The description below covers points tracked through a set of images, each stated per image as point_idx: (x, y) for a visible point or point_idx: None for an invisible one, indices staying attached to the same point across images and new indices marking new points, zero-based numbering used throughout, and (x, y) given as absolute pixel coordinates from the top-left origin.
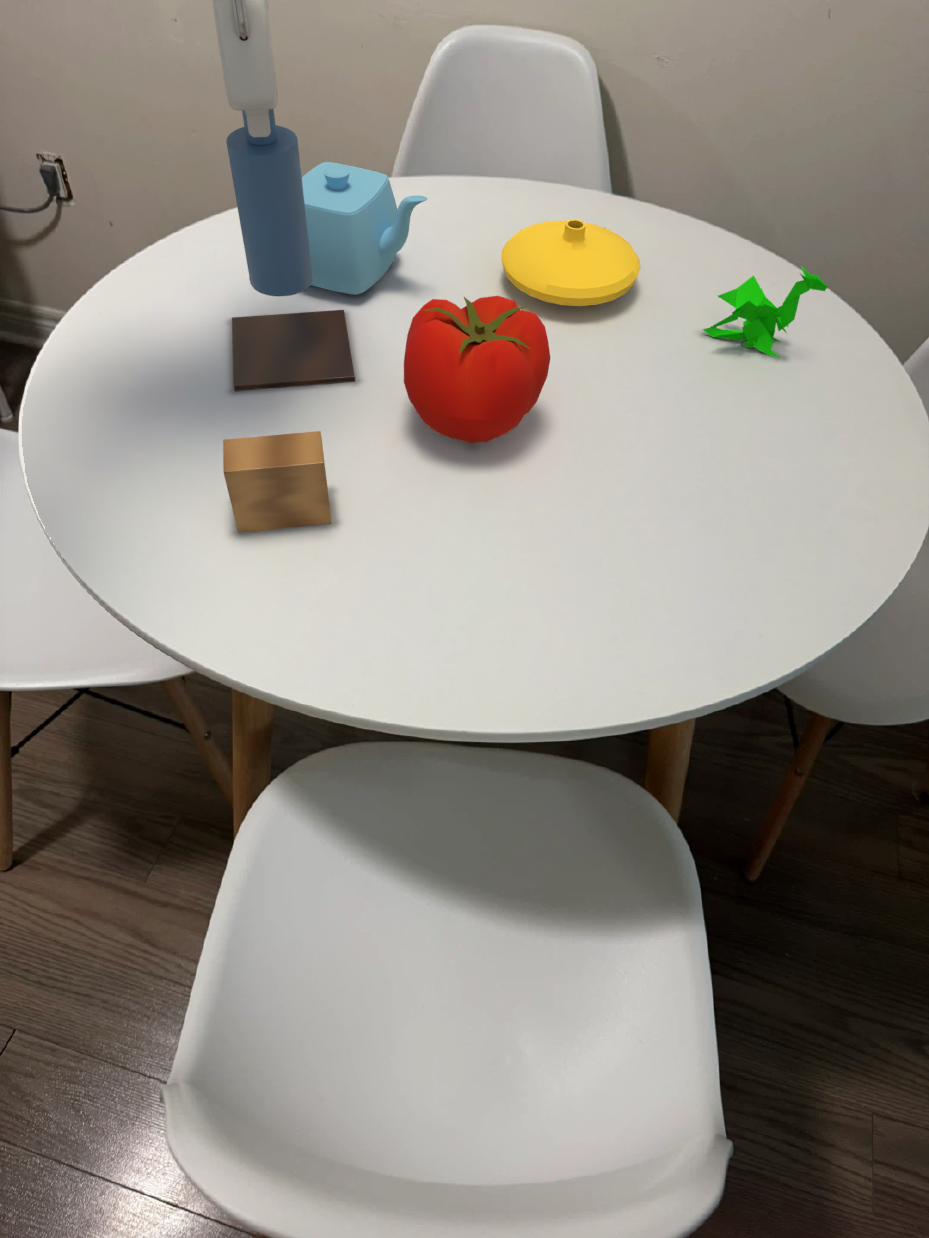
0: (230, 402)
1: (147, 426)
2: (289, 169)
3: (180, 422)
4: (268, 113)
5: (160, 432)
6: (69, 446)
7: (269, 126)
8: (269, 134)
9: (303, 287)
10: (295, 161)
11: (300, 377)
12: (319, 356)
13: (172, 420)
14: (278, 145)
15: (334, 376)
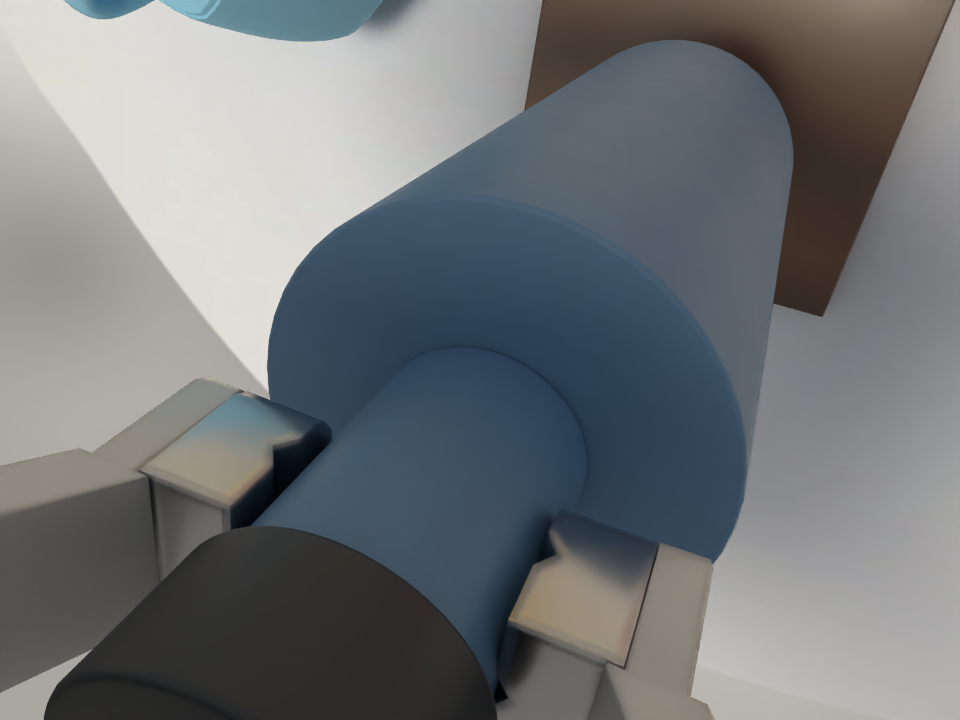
0: (866, 334)
1: (857, 520)
2: (730, 291)
3: (883, 459)
4: (705, 709)
5: (898, 506)
6: (842, 652)
7: (702, 605)
8: (705, 561)
9: (781, 109)
10: (675, 235)
11: (882, 127)
12: (797, 32)
13: (865, 471)
14: (609, 381)
15: (939, 12)
